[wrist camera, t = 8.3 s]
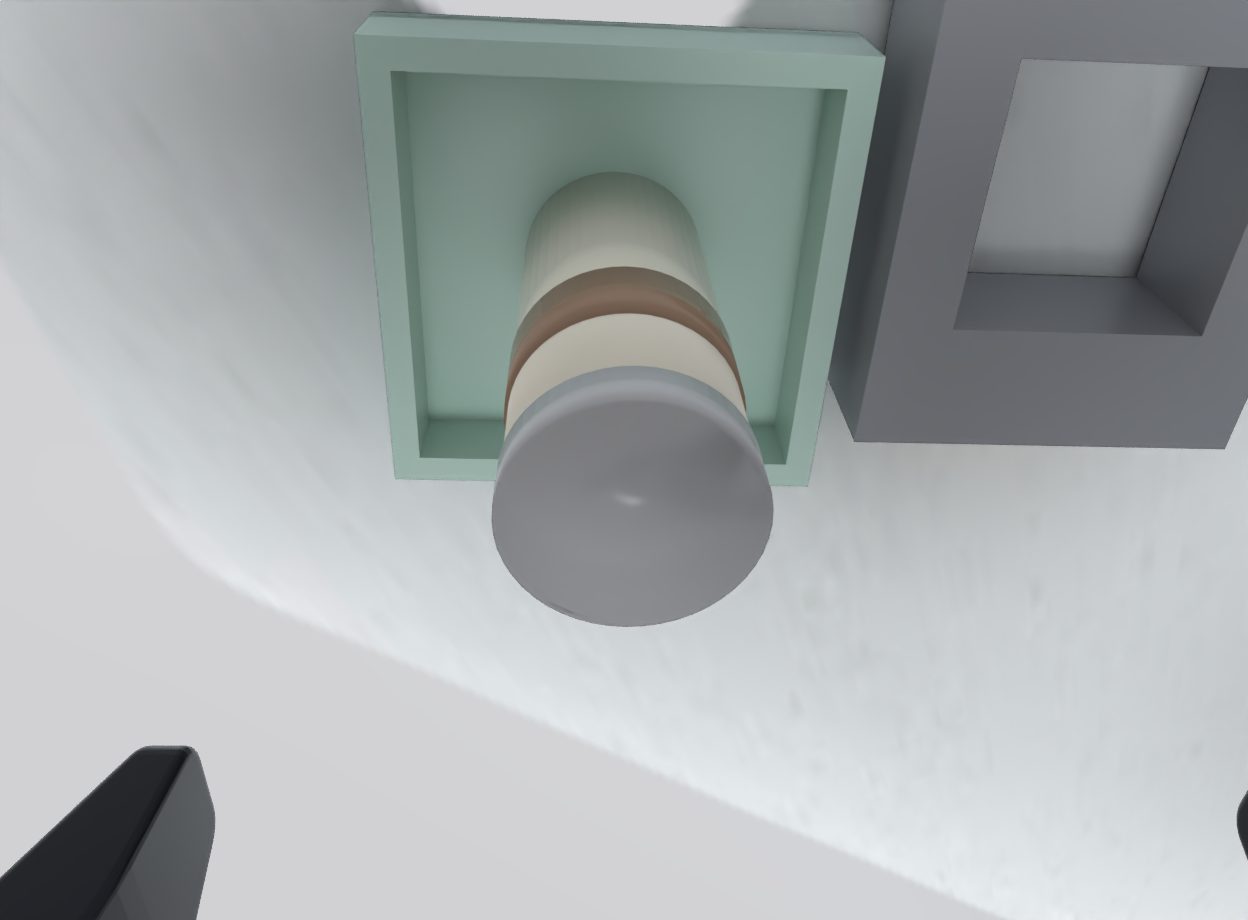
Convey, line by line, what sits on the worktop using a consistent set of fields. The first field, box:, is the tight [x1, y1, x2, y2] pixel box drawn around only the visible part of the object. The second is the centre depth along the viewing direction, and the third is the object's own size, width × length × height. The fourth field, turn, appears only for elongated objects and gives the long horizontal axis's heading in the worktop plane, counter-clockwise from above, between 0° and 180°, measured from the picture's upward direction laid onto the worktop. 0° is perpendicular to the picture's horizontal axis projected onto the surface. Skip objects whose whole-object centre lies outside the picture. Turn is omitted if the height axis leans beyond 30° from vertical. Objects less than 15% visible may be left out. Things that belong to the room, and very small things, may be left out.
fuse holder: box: [828, 0, 1248, 449], centre depth 17 cm, size 9×7×2 cm
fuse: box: [492, 172, 773, 627], centre depth 15 cm, size 3×3×8 cm
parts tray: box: [353, 11, 886, 486], centre depth 18 cm, size 8×8×2 cm
